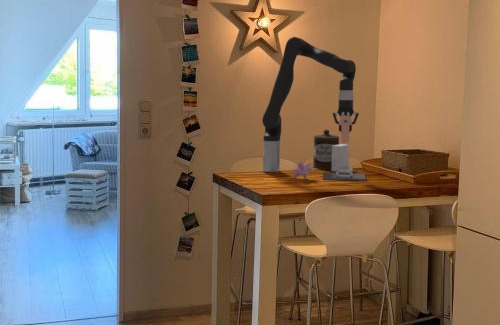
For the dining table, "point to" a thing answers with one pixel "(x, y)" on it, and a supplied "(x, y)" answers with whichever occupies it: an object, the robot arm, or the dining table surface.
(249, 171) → the dining table surface
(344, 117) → the pink rectangular block
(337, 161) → the skincare box
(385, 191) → the dining table surface
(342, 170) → the collar stand
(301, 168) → the lily
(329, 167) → the labeled lidded canister
